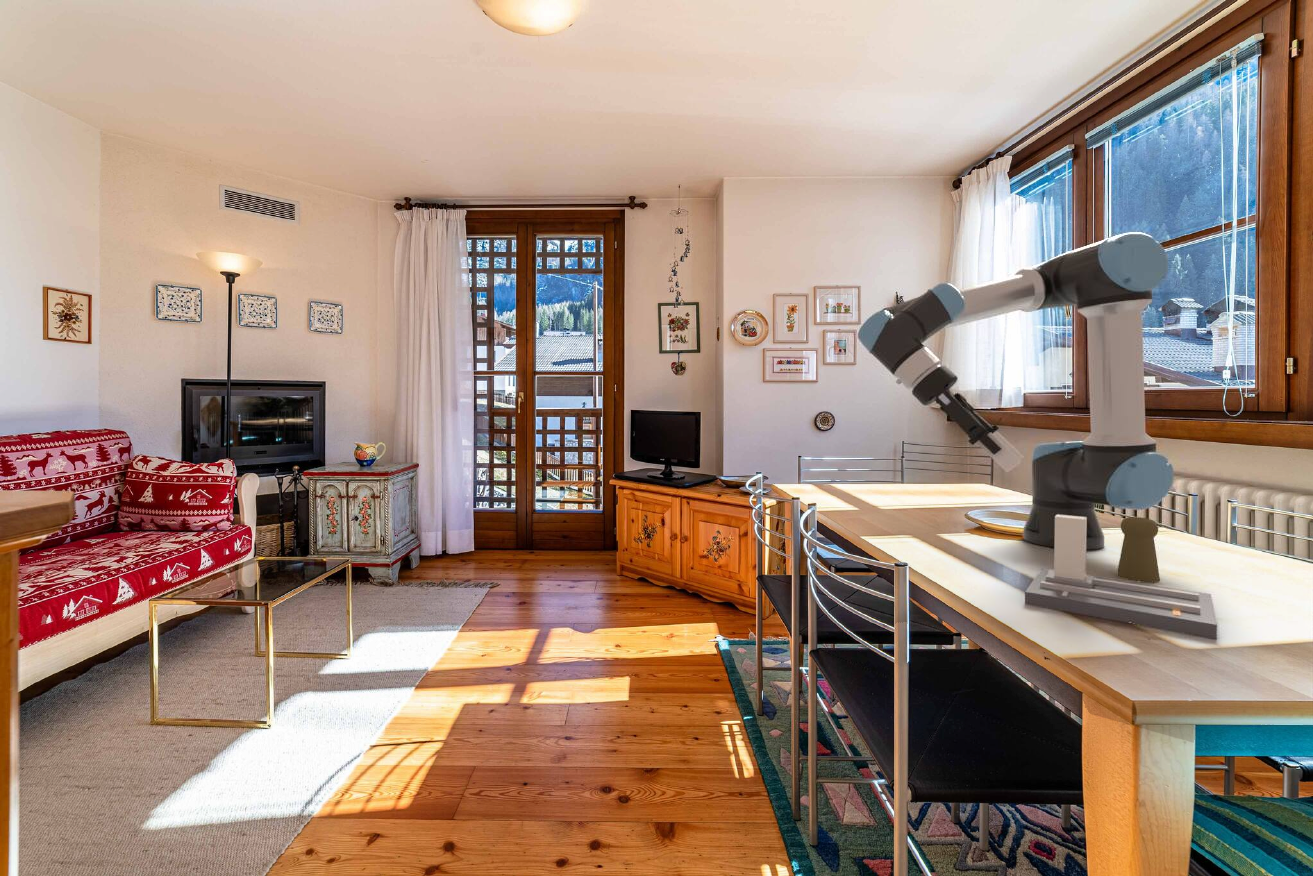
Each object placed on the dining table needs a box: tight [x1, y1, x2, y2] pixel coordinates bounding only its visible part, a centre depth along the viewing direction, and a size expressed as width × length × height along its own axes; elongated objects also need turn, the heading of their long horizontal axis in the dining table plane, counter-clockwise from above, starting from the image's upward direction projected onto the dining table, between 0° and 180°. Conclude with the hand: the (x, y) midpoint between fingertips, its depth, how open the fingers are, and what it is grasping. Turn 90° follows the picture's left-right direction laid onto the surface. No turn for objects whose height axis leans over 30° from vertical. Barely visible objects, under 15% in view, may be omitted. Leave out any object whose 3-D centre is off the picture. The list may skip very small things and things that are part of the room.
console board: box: [1024, 568, 1218, 640], centre depth 89 cm, size 16×22×3 cm
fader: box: [1046, 515, 1095, 589], centre depth 93 cm, size 5×6×11 cm
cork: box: [1116, 516, 1161, 584], centre depth 102 cm, size 6×6×11 cm
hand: (1016, 464), depth 97 cm, fingers open, 13 cm apart
